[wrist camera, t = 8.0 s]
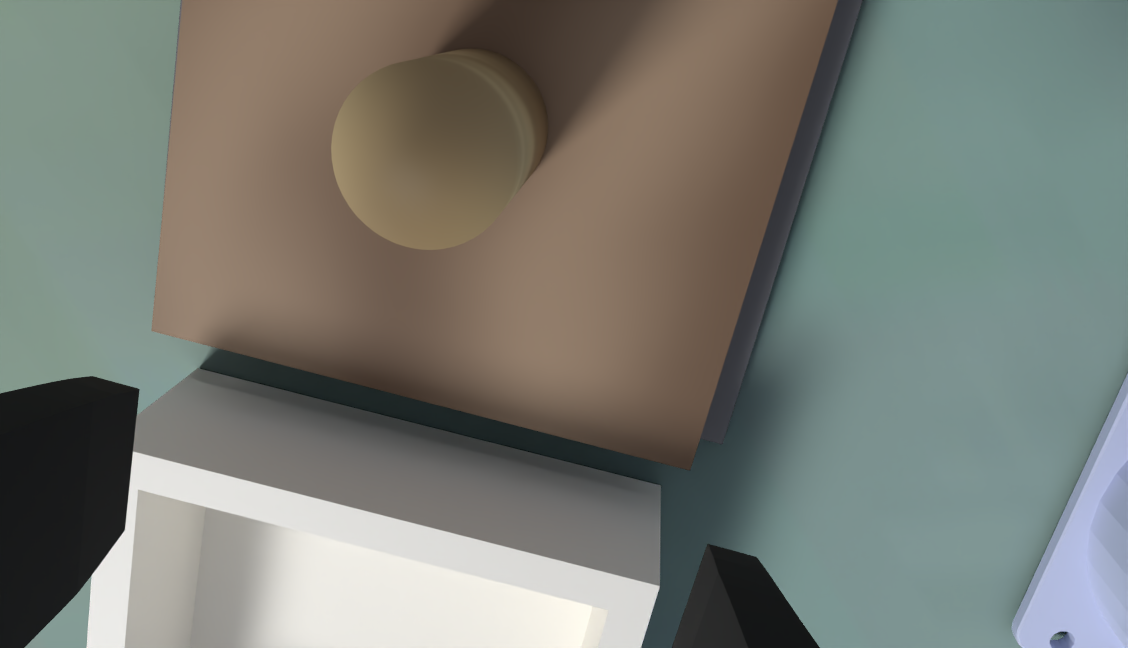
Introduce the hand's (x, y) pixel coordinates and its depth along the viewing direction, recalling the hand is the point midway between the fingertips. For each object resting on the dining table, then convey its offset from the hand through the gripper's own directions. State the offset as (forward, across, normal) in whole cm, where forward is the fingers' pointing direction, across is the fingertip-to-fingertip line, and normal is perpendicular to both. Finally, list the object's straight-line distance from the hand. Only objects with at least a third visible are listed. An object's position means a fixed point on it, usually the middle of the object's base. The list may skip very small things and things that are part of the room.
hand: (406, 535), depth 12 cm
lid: (+9, +2, -4) cm, 10 cm away
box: (+10, +1, +9) cm, 13 cm away
